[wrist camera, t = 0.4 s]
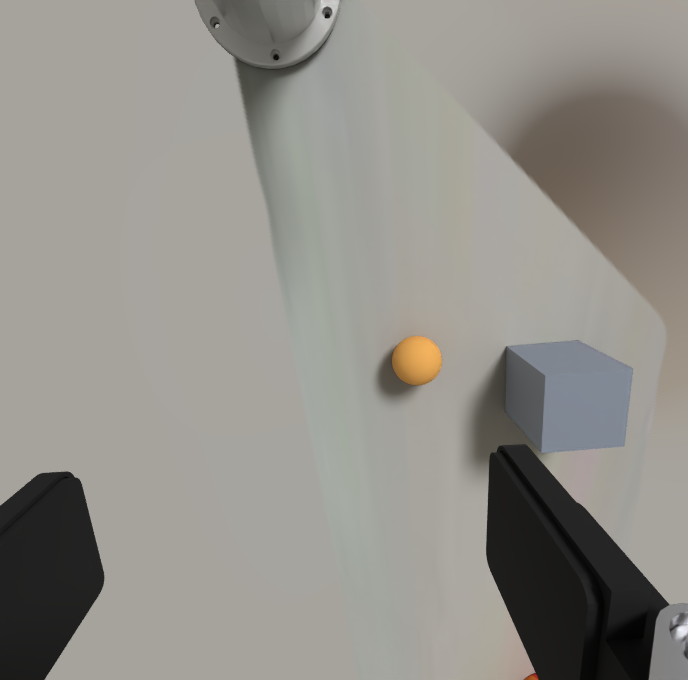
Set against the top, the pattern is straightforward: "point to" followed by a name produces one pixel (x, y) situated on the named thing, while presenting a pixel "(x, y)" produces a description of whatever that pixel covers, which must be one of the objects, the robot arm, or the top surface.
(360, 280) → the top surface
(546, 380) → the pale blue-grey cube
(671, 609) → the robot arm
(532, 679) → the paper cup
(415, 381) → the ball
